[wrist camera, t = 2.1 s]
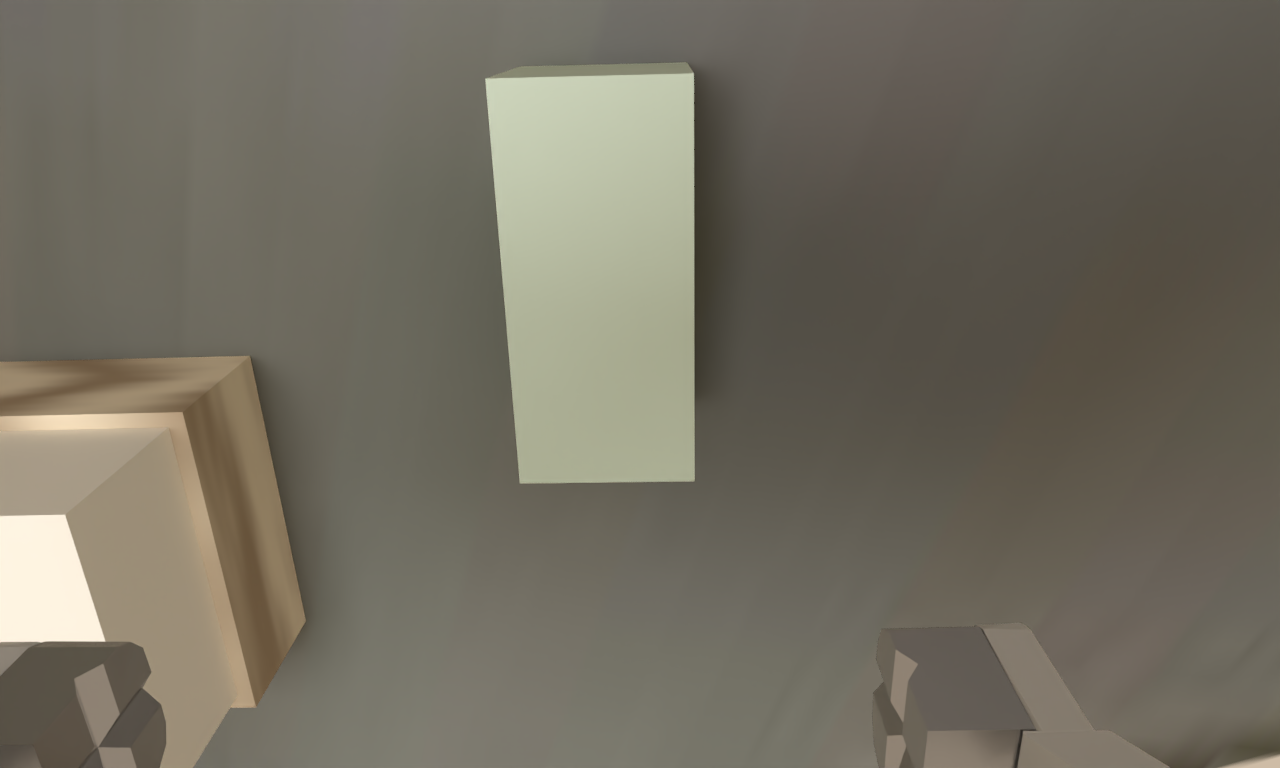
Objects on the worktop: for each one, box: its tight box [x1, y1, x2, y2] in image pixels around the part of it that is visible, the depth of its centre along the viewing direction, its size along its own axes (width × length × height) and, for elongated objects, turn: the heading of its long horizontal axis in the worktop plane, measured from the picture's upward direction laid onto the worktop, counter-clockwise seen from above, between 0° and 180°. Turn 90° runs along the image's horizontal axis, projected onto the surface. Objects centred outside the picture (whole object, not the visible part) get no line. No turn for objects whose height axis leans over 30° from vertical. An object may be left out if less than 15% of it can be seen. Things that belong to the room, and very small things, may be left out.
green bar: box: [485, 62, 695, 483], centre depth 26 cm, size 5×11×6 cm, turn 1°
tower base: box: [0, 356, 306, 708], centre depth 31 cm, size 11×11×5 cm
